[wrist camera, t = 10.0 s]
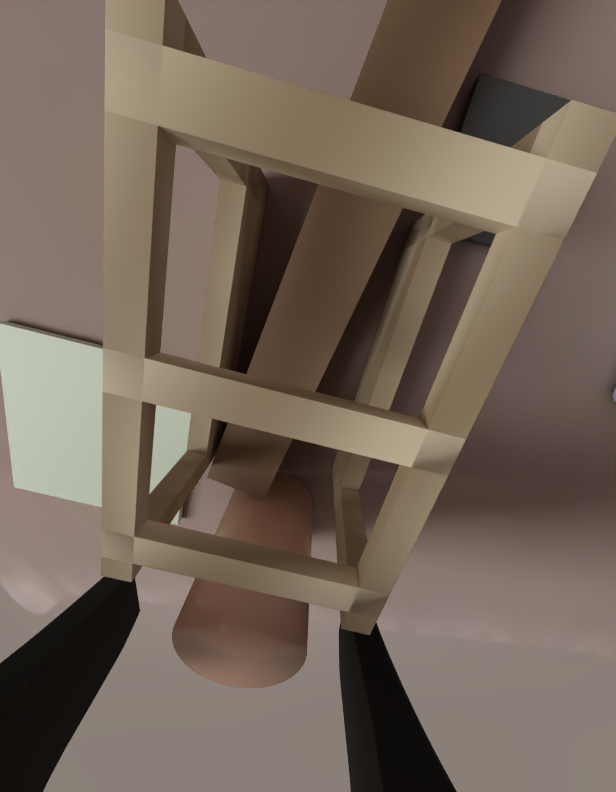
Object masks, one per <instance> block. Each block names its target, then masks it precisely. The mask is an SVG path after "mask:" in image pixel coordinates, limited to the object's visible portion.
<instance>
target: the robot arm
mask: <svg viewBox="0 0 616 792" xmlns="http://www.w3.org/2000/svg"><path fill="white" fill-rule="evenodd" d="M613 399H614V401H615V402H616V388H615V390H614V392H613ZM139 612H140V609H139V601H138V595H137V588H136V582H135V578H134V579H133V581H132V582H127V581H123V580H118V579H114V578H109V577H105V576H104V577H103V578H102V579H101V580H100V581H98V582H97V583H96V584H95V585H94V586H93V587H92V588H90V589H89V590H88V591H87V592H86V593H85V594H83V595H82V596H81V597H80V598H79V599H78V600H77V601H76V602H74V603H73V604H72V605H71V606H70V607H68V608H67V609H66V610H65V611H64V612H63V613H61V614H60V615H59V616H58V617H57V618H55V619H54V620H53V621H52V622H51V623H49V624H48V625H47V626H46V627H45V628H44V629H42V630H41V631H40V632H39V633H38V634H36V635H35V636H34V637H33V638H31V639H30V640H29V641H28V642H26V643H25V644H24V645H23V646H21V647H20V648H19V649H18V650H16V651H15V652H14V653H13V654H11V655H10V656H9V657H8V658H7V659H5V660H4V661H3V662H1V663H0V792H43V790H44V788H45V786H46V784H47V782H48V780H49V778H50V776H51V774H52V772H53V770H54V768H55V767H56V765H57V763H58V761H59V759H60V757H61V756H62V754H63V752H64V750H65V748H66V746H67V745H68V743H69V741H70V740H71V738H72V736H73V734H74V733H75V731H76V729H77V727H78V726H79V724H80V722H81V720H82V719H83V717H84V715H85V714H86V712H87V710H88V708H89V707H90V705H91V703H92V701H93V700H94V698H95V696H96V694H97V693H98V691H99V689H100V688H101V686H102V684H103V682H104V681H105V679H106V677H107V675H108V674H109V672H110V670H111V668H112V667H113V665H114V663H115V661H116V660H117V658H118V656H119V654H120V652H121V651H122V649H123V647H124V645H125V643H126V640H127V638H128V636H129V634H130V632H131V630H132V628H133V625H134V623H135V621H136V619H137V617H138V614H139ZM339 663H340V664H339V669H340V681H341V693H342V703H343V713H344V723H345V733H346V744H347V753H348V763H349V774H350V786H351V792H457V791H456V790H455V788H454V786H453V784H452V783H451V781H450V779H449V777H448V775H447V774H446V772H445V770H444V768H443V766H442V764H441V762H440V760H439V758H438V757H437V755H436V753H435V751H434V749H433V747H432V745H431V743H430V741H429V739H428V738H427V735H426V733H425V731H424V729H423V728H422V725H421V723H420V721H419V719H418V717H417V715H416V713H415V711H414V709H413V707H412V705H411V703H410V701H409V698H408V696H407V694H406V692H405V690H404V688H403V686H402V683H401V681H400V679H399V677H398V674H397V672H396V670H395V667H394V665H393V663H392V660H391V658H390V656H389V654H388V651H387V649H386V646H385V644H384V641H383V639H382V636H381V634H380V631H379V628H378V626H377V623H375V625H374V627H373V629H372V632H371V634H370V635H367V634H362V633H358V632H353V631H349V630H344V629H341V623H340V628H339Z"/></svg>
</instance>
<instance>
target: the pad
mask: <svg viewBox="0 0 616 792" xmlns="http://www.w3.org/2000/svg"><path fill="white" fill-rule="evenodd" d="M0 370H1V378H2V387H3V395H4V404H5V412H6V421H7V430H8V438H9V447H10V455H11V464H12V472H13V481H14V487H16V488H20V489H24V490H29V491H33V492H37V493H42V494H46V495H50V496H55V497H59V498H63V499H68V500H72V501H77V502H81V503H85V504H90V505H94V506H98V507H102V400H103V346H102V345H98V344H94V343H90V342H86V341H82V340H78V339H74V338H70V337H66V336H63V335H59V334H55V333H51V332H47V331H43V330H39V329H35V328H31V327H27V326H23V325H19V324H15V323H11V322H7V321H1V322H0ZM191 415H192V413H188V412H183V411H179V410H175V409H171V408H167V407H163V406H159V405H156V413H155V426H154V439H153V452H152V466H151V479H150V492H149V494H150V493H151V492H152V491H153V490H154V488H155V487H156V486H157V485H158V484H159V483H160V481H161V480H162V479H163V478H164V477H165V476H166V475H167V473H168V472H169V471H170V470H171V469H172V468H173V466H174V465H175V464H176V463H177V462H178V461H179V459H180V458H181V457H182V456H183V455H184V454H185V452H186V451H187V448H188V440H189V432H190V424H191ZM182 510H183V505H182V507H181V508H180V510H179V511H178V513H177V514H176V516H175V517H174V519H173V520H172V522H171V523H172V524H176V525H178V523H179V522H180V520H181V518H182Z"/></svg>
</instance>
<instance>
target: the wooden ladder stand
mask: <svg viewBox="0 0 616 792" xmlns="http://www.w3.org/2000/svg"><path fill="white" fill-rule="evenodd" d="M615 136H616V113H614V112H610V111H607V110H604V109H600V108H597V107H594V106H591V105H587V104H584V103H581V102H577V101H574V100H571V101H570V102H569V103H567V104H566V105H565V106H563V107H562V108H561V109H560V110H558V111H557V112H556V113H554V114H553V115H552V116H550V117H549V118H548V119H547V120H545V121H544V122H543V123H541V124H540V125H539V126H538V127H536V128H535V129H534V130H532V131H531V132H530V133H529V134H527V135H526V136H525V137H523V138H522V139H521V140H520V141H518V142H517V143H516V144H514V145H513V146H512V147H511V148H510V147H507V146H503V145H500V144H496V143H493V142H490V141H486V140H483V139H479V138H476V137H473V136H469V135H466V134H462V133H459V132H456V131H452V130H449V129H445V128H442V127H438V126H435V125H432V124H428V123H425V122H421V121H418V120H415V119H411V118H408V117H404V116H401V115H398V114H394V113H391V112H387V111H384V110H381V109H377V108H374V107H370V106H367V105H364V104H360V103H357V102H353V101H350V100H347V99H343V98H340V97H336V96H333V95H330V94H326V93H323V92H319V91H316V90H312V89H309V88H306V87H302V86H299V85H295V84H292V83H289V82H285V81H282V80H278V79H275V78H272V77H268V76H265V75H261V74H258V73H255V72H251V71H248V70H244V69H241V68H238V67H234V66H231V65H227V64H224V63H221V62H217V61H214V60H210V59H207V58H206V56H205V54H204V52H203V50H202V48H201V46H200V44H199V42H198V40H197V38H196V36H195V34H194V32H193V30H192V28H191V26H190V24H189V22H188V20H187V18H186V16H185V14H184V12H183V10H182V8H181V6H180V4H179V2H178V0H106V11H105V141H104V270H103V400H102V529H101V576H105V577H109V578H114V579H118V580H123V581H127V582H132V581H133V579H134V578H135V576H136V575H137V573H138V572H139V570H140V569H141V567H142V566H145V567H150V568H154V569H159V570H163V571H168V572H172V573H177V574H181V575H186V576H190V577H194V578H199V579H203V580H208V581H212V582H217V583H221V584H226V585H230V586H235V587H239V588H244V589H248V590H252V591H257V592H261V593H266V594H270V595H275V596H279V597H284V598H288V599H293V600H297V601H302V602H306V603H310V604H315V605H319V606H324V607H328V608H333V609H337V610H340V616H341V629H344V630H349V631H353V632H358V633H362V634H367V635H370V634H371V632H372V629H373V627H374V625H375V623H376V621H377V619H378V617H379V615H380V613H381V611H382V609H383V607H384V605H385V603H386V601H387V599H388V597H389V595H390V593H391V591H392V589H393V587H394V585H395V583H396V581H397V579H398V577H399V575H400V573H401V571H402V569H403V566H404V564H405V562H406V560H407V558H408V556H409V554H410V552H411V550H412V548H413V546H414V544H415V542H416V540H417V538H418V536H419V534H420V532H421V530H422V528H423V526H424V524H425V522H426V520H427V518H428V516H429V514H430V512H431V510H432V508H433V506H434V504H435V501H436V499H437V497H438V495H439V493H440V491H441V489H442V487H443V485H444V483H445V481H446V479H447V477H448V475H449V473H450V471H451V469H452V467H453V465H454V463H455V461H456V459H457V457H458V455H459V453H460V451H461V449H462V447H463V445H464V443H465V441H466V438H467V436H468V434H469V432H470V430H471V428H472V426H473V424H474V422H475V420H476V418H477V416H478V414H479V412H480V410H481V408H482V406H483V404H484V402H485V400H486V398H487V396H488V394H489V392H490V390H491V388H492V386H493V384H494V382H495V380H496V378H497V376H498V373H499V371H500V369H501V367H502V365H503V363H504V361H505V359H506V357H507V355H508V353H509V351H510V349H511V347H512V345H513V343H514V341H515V339H516V337H517V335H518V333H519V331H520V329H521V327H522V325H523V323H524V321H525V319H526V317H527V315H528V313H529V310H530V308H531V306H532V304H533V302H534V300H535V298H536V296H537V294H538V292H539V290H540V288H541V286H542V284H543V282H544V280H545V278H546V276H547V274H548V272H549V270H550V268H551V266H552V264H553V262H554V260H555V258H556V256H557V254H558V252H559V250H560V247H561V245H562V243H563V241H564V239H565V237H566V235H567V233H568V231H569V229H570V227H571V225H572V223H573V221H574V219H575V217H576V215H577V213H578V211H579V209H580V207H581V205H582V203H583V201H584V199H585V197H586V195H587V193H588V191H589V189H590V187H591V185H592V182H593V180H594V178H595V176H596V174H597V172H598V170H599V168H600V166H601V164H602V162H603V160H604V158H605V156H606V154H607V152H608V150H609V148H610V146H611V144H612V142H613V140H614V138H615ZM176 144H178V145H181V146H185V147H188V148H192V149H194V150H195V152H196V153H197V154H198V155H199V156H200V157H201V158H202V159H203V161H204V162H205V163H206V164H207V165H208V166H209V167H210V168H211V170H212V171H213V172H214V173H215V174H216V175H217V176H218V177H219V178H220V187H219V195H218V204H217V212H216V220H215V228H214V236H213V244H212V252H211V261H210V269H209V277H208V285H207V293H206V301H205V310H204V318H203V326H202V334H201V342H200V350H199V358H198V362H196V361H192V360H188V359H184V358H180V357H176V356H172V355H168V354H164V353H160V347H161V334H162V321H163V308H164V294H165V281H166V268H167V255H168V242H169V229H170V216H171V202H172V189H173V176H174V163H175V150H176ZM261 168H263V169H267V170H270V171H274V172H277V173H281V174H284V175H288V176H292V177H295V178H299V179H302V180H306V181H309V182H313V183H316V184H320V185H324V186H327V187H331V188H334V189H338V190H341V191H345V192H348V193H352V194H356V195H359V196H363V197H366V198H370V199H373V200H377V201H380V202H384V203H388V204H391V205H395V206H398V207H402V208H405V209H409V210H412V211H416V212H420V213H423V214H424V215H423V216H422V217H421V218H419V219H418V220H417V221H415V222H414V223H413V224H412V225H411V227H410V230H409V233H408V236H407V239H406V242H405V245H404V248H403V251H402V254H401V257H400V260H399V263H398V266H397V270H396V273H395V276H394V279H393V282H392V285H391V288H390V291H389V294H388V297H387V300H386V303H385V306H384V309H383V313H382V316H381V319H380V322H379V325H378V328H377V331H376V334H375V337H374V340H373V343H372V346H371V349H370V352H369V355H368V359H367V362H366V365H365V368H364V371H363V374H362V377H361V380H360V383H359V386H358V389H357V392H356V395H355V398H354V401H350V400H346V399H342V398H338V397H334V396H330V395H326V394H322V393H318V392H314V391H310V390H306V389H302V388H298V387H295V386H291V385H287V384H283V383H279V382H275V381H271V380H267V379H263V378H259V377H255V376H251V375H247V374H243V373H239V372H237V368H238V362H239V356H240V351H241V345H242V339H243V333H244V327H245V322H246V316H247V310H248V304H249V298H250V292H251V287H252V281H253V275H254V269H255V263H256V257H257V252H258V246H259V240H260V234H261V228H262V222H263V217H264V211H265V205H266V199H267V193H268V187H269V184H268V182H267V180H266V178H265V176H264V174H263V172H262V170H261ZM483 231H487V232H491V233H494V234H496V235H495V238H494V240H493V242H492V245H491V247H490V250H489V252H488V254H487V257H486V259H485V262H484V264H483V266H482V269H481V271H480V274H479V276H478V278H477V281H476V283H475V286H474V288H473V290H472V293H471V295H470V297H469V300H468V302H467V305H466V307H465V309H464V312H463V314H462V317H461V319H460V321H459V324H458V326H457V329H456V331H455V333H454V336H453V338H452V341H451V343H450V345H449V348H448V350H447V353H446V355H445V357H444V360H443V362H442V365H441V367H440V369H439V372H438V374H437V376H436V379H435V381H434V384H433V386H432V388H431V391H430V393H429V396H428V398H427V400H426V403H425V405H424V408H423V410H422V412H421V415H420V417H419V418H417V417H413V416H409V415H405V414H401V413H397V412H393V411H389V409H390V407H391V404H392V401H393V399H394V396H395V393H396V391H397V388H398V385H399V383H400V380H401V377H402V375H403V372H404V369H405V367H406V364H407V361H408V359H409V356H410V353H411V351H412V348H413V345H414V343H415V340H416V337H417V335H418V332H419V329H420V327H421V324H422V321H423V319H424V316H425V313H426V311H427V308H428V305H429V303H430V300H431V297H432V295H433V292H434V289H435V287H436V284H437V281H438V279H439V276H440V273H441V271H442V268H443V265H444V263H445V260H446V257H447V255H448V252H449V249H450V247H451V244H452V243H455V242H458V241H460V240H463V239H465V238H468V237H470V236H473V235H476V234H478V233H481V232H483ZM156 405H159V406H163V407H167V408H171V409H175V410H179V411H183V412H188V413H192V415H191V424H190V432H189V440H188V448H187V451H186V452H185V454H184V455H183V456H182V457H181V458H180V459H179V461H178V462H177V463H176V464H175V465H174V466H173V468H172V469H171V470H170V471H169V472H168V473H167V475H166V476H165V477H164V478H163V479H162V480H161V481H160V483H159V484H158V485H157V486H156V487H155V488H154V490H153V491H152V492H151V493H150V494H149V492H150V479H151V466H152V452H153V439H154V426H155V413H156ZM228 423H232V424H236V425H240V426H244V427H249V428H253V429H257V430H261V431H265V432H269V433H273V434H277V435H281V436H285V437H289V438H293V439H297V440H301V441H305V442H310V443H314V444H318V445H322V446H326V447H330V448H334V449H338V451H337V454H336V457H335V460H334V463H333V466H332V474H333V491H334V509H335V527H336V545H337V562H338V563H334V562H329V561H325V560H321V559H316V558H312V557H308V556H303V555H299V554H295V553H290V552H286V551H282V550H277V549H273V548H269V547H264V546H260V545H256V544H251V543H247V542H242V541H238V540H234V539H229V538H225V537H221V536H216V535H212V534H208V533H203V532H199V531H195V530H190V529H186V528H182V527H177V526H173V525H170V523H171V522H172V520H173V519H174V517H175V516H176V514H177V513H178V511H179V510H180V508H181V507H182V505H183V504H184V502H185V501H186V499H187V498H188V496H189V495H190V493H191V492H192V490H193V489H194V487H195V486H196V484H197V483H198V481H199V480H200V478H201V477H202V475H203V474H204V472H205V471H206V469H207V467H208V466H209V464H210V463H211V461H212V460H213V458H214V457H215V455H216V453H217V450H218V447H219V445H220V442H221V439H222V437H223V434H224V431H225V429H226V426H227V424H228ZM371 458H375V459H379V460H383V461H387V462H391V463H395V464H399V467H398V470H397V472H396V475H395V477H394V479H393V482H392V484H391V487H390V489H389V491H388V494H387V496H386V499H385V501H384V503H383V506H382V508H381V511H380V513H379V515H378V518H377V520H376V522H375V525H374V527H373V530H372V532H371V534H370V537H369V539H368V541H367V535H366V530H365V524H364V519H363V513H362V508H361V502H360V497H359V489H360V487H361V484H362V481H363V479H364V476H365V473H366V471H367V468H368V465H369V463H370V460H371Z"/></svg>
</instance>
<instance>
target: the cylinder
mask: <svg viewBox="0 0 616 792" xmlns="http://www.w3.org/2000/svg"><path fill="white" fill-rule="evenodd" d="M312 519H313V502H312V498H311V496H310V494H309V492H308V490H307V489H306V488H305V487H304V485H303V484H301V483H300V482H299V481H298V480H296V479H295V478H293V477H291V476H289V475H287V474H283V473H280V472H277V473H276V475H275V477H274V479H273V481H272V483H271V486H270V488H269V490H268V492H267V494H266V496H265V498H264V499H261V498H259V497H256V496H253V495H251V494H248V493H246V492H243V491H241V490H238V489H236V488H235V490H234V492H233V495H232V497H231V499H230V501H229V504H228V506H227V508H226V510H225V513H224V515H223V517H222V519H221V522H220V524H219V526H218V528H217V531H216V533H215V535H216V536H221V537H225V538H229V539H234V540H238V541H242V542H247V543H251V544H256V545H260V546H264V547H269V548H273V549H277V550H282V551H286V552H290V553H295V554H299V555H303V556H308V557H311V543H312ZM308 614H309V603H306V602H302V601H297V600H293V599H288V598H284V597H279V596H275V595H270V594H266V593H261V592H257V591H252V590H248V589H244V588H239V587H235V586H230V585H226V584H221V583H217V582H212V581H208V580H203V579H199V578H195V580H194V582H193V585H192V587H191V589H190V591H189V594H188V596H187V598H186V600H185V603H184V605H183V607H182V610H181V612H180V614H179V616H178V619H177V621H176V623H175V625H174V628H173V632H172V641H173V645H174V648H175V650H176V652H177V654H178V656H179V657H180V658H181V660H182V661H183V662H184V663H185V664H186V665H187V666H188V667H189V668H190V669H192V670H193V671H195V672H196V673H197V674H199V675H201V676H203V677H204V678H206V679H209V680H211V681H213V682H216V683H219V684H223V685H227V686H231V687H238V688H262V687H268V686H272V685H276V684H279V683H281V682H284V681H286V680H288V679H289V678H291V677H292V676H294V675H295V674H296V673H297V672H298V671H299V670H300V669H301V667H302V666H303V664H304V662H305V659H306V656H307V638H308Z"/></svg>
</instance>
